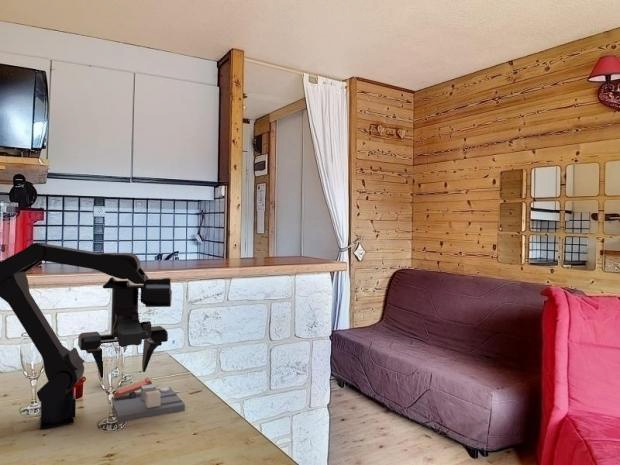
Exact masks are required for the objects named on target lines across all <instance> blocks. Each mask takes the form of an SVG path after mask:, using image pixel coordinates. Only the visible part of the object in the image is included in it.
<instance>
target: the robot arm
mask: <svg viewBox="0 0 620 465" xmlns="http://www.w3.org/2000/svg"><path fill="white" fill-rule="evenodd" d="M41 262H47V263H54V264H61V265H66V266H72V267H73V266H74V267H78V268H84V269H85V268H86V269H91V270H95V271H98V272H100V273H103V274H104V275H108V276H111V277H110V278H108V281H107V282H106V283H105V284H103V285H102V289H111V316H110V317H111V322H110V323H111V324H110V325H111V326H110V334H100V332H98V331H87V332H81V333H80V334H79V335H78V338H77V339H78V340H77V345H78V347H79V350H80V351H85V352H86V353H87V354H92V357H93V358H94V362H95V365H96V367H97V370H98V373H99V377H100V379H103V361H102V349H101V348H100V345H101V344H103V343H113V342H118V344H119V346H121V347H123V348H124V347H125V348H126V347H128V346H141V345H142V344H143V348H142V351H143V352H142V361H141V362H142V363H141V367H142V372H143V373H145V372H146V370H147V368H148V365H149V363H150V360H151V357H152V356H153V353H154V351H155V350H156V349H157V348H158V347H159V346H160V347H161V346H162V344H163V343H166V342H168V341H169V334H168V330H167V329H165V328H164V327H163V326H161V325H157V326H152V323H151V321H149V320H148V321H146V320H145V321H141V322H140V318H139V291H140V303H142V304H143V305H145V308H171V307H172V298H173V296H172V294H173V293H172V291H173V290H172V283H171V280H172V279H171V277H163V278H149V277H148V276H147V274H146V273H145V271H144V270H143V269H142V267H141V260H140V258H139V257H138V256H137V255H136V254H135V253H133V252H95V251H90V250H84V249H79V248H73V247H68V246H67V247H66V246H61V245H54V244H50V243H47V242H45V241H44V242H43V241H40V242H33V243H31V244H30V245H28V246H27V247H25V248H24V249H22V250H20V251H18V252H17V253H16V252H15V253H14V254H12V255H11V256H8V257H7V258H5V259H4V260H3V259H2V260H0V298H1V299H2V300H4V301H5V302H6V303H7V304H8V305H9V307H10V308H11V310H12V312H13V313H14V315H15V317H16V318H17V319H18V321H19V322H20V324H21V326H22V327H23V329H24V330H25V333H26V334H27V335H28V337H29V338H30V340H31V342H32V343H33V345H34V347H35V348H36V350H37V351H38V353H39V354H40V356H41V358H42V364H43V369H44V374H45V376H46V378H47V381H46V382H45V384H43V386H42V387H40V389H39V390H38V391H37V392H36V396H37V399H38V401H39V402H40V416H39V429H41V430H44V429H50V428H55V427H62V426H67V425H71V424H72V425H73V424H74V419H75V418H76V414H77V412H76V410H77V408H76V405H77V400H76V396H74V392H73V388H74V387H75V386H76V384H77V383H78V382H79V381H80V380H81V378H82V377H83V376H84V372H85V365H84V363H85V359H83V358H82V357H81V356H80V354H79V352H78V350H77V348H76V347H73V348H72V349H71V350H70V349H68V348H67V347H65V346H64V345H63V343H62V342H61V341H60V339H59V337H58V336H57V334H56V333H55V331H54V330H53V328H52V327H51V325H50V323H49V321H48V320H47V318H46V316H45V315H44V313H43V311H42V310H41V308H40V306H39V305H38V303H37V302H36V301H35V299H34V297H33V296H32V294H31V292H30V286H29V280H28V277H27V274H26V273H27V272H28V271H30V270H31V269H33V268H34V267H36V266H37V265H38V264H39V263H41ZM115 278H117V279H120V280H116V279H115ZM131 283H132V284H131ZM139 289H140V290H139ZM142 342H143V343H142Z"/></svg>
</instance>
